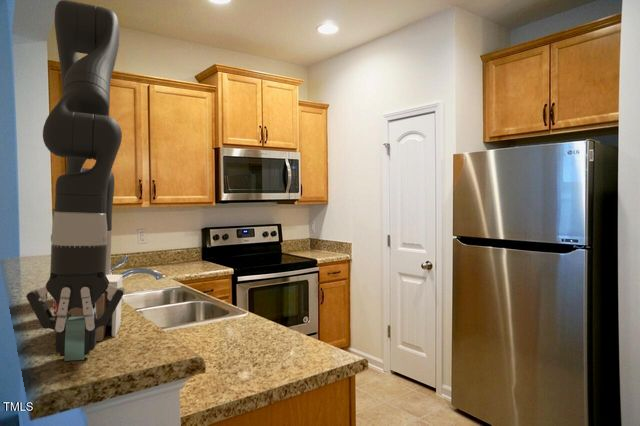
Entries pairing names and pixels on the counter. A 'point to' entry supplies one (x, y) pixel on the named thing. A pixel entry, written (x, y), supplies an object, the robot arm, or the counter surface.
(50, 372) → the counter surface
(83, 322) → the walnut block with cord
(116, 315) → the cream white box
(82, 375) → the counter surface
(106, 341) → the counter surface
